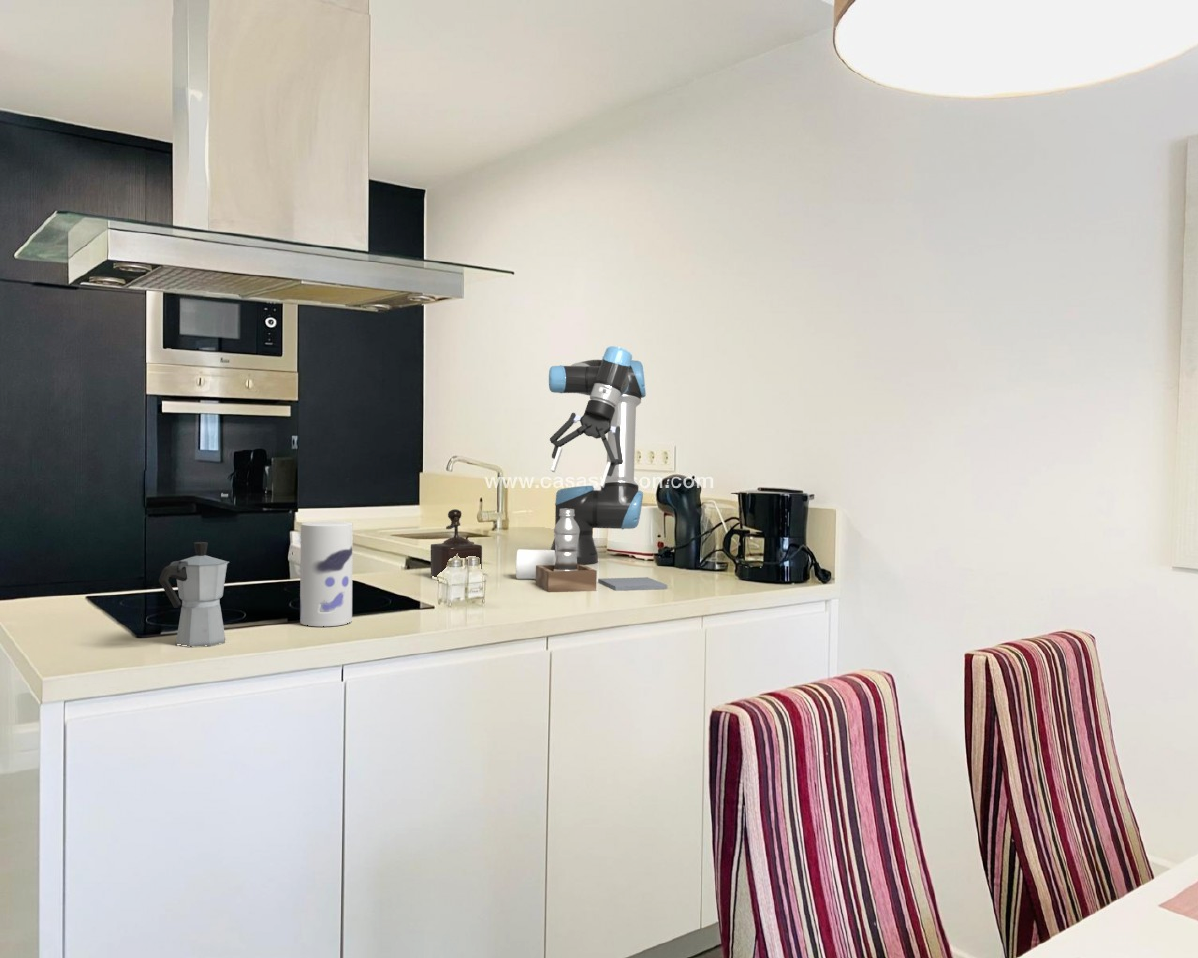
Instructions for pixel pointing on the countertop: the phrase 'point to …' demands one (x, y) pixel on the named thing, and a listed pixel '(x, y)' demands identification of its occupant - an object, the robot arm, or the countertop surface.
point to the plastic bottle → (566, 541)
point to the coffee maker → (197, 597)
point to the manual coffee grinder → (452, 547)
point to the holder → (566, 579)
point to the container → (326, 573)
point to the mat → (632, 583)
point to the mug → (532, 562)
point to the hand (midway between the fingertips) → (577, 479)
